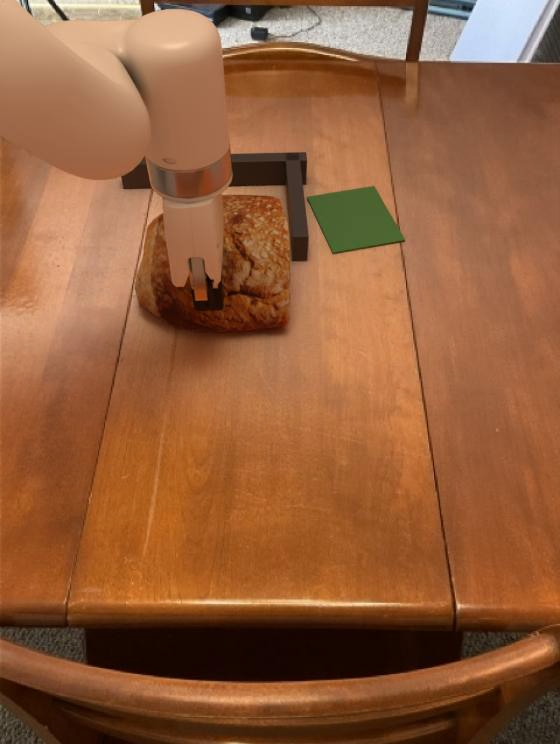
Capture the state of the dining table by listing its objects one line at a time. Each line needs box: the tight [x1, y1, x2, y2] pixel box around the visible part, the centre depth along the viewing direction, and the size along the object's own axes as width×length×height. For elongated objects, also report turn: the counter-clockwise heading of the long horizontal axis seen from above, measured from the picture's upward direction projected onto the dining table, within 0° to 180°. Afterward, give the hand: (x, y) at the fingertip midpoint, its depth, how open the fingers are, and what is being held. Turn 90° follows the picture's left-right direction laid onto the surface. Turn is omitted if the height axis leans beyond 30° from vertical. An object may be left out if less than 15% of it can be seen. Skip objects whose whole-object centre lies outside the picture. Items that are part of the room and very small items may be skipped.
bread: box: [134, 194, 291, 333], centre depth 81 cm, size 20×18×10 cm
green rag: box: [306, 185, 406, 255], centre depth 92 cm, size 10×12×1 cm
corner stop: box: [120, 151, 310, 262], centre depth 91 cm, size 26×18×4 cm
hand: (209, 305), depth 75 cm, fingers closed
